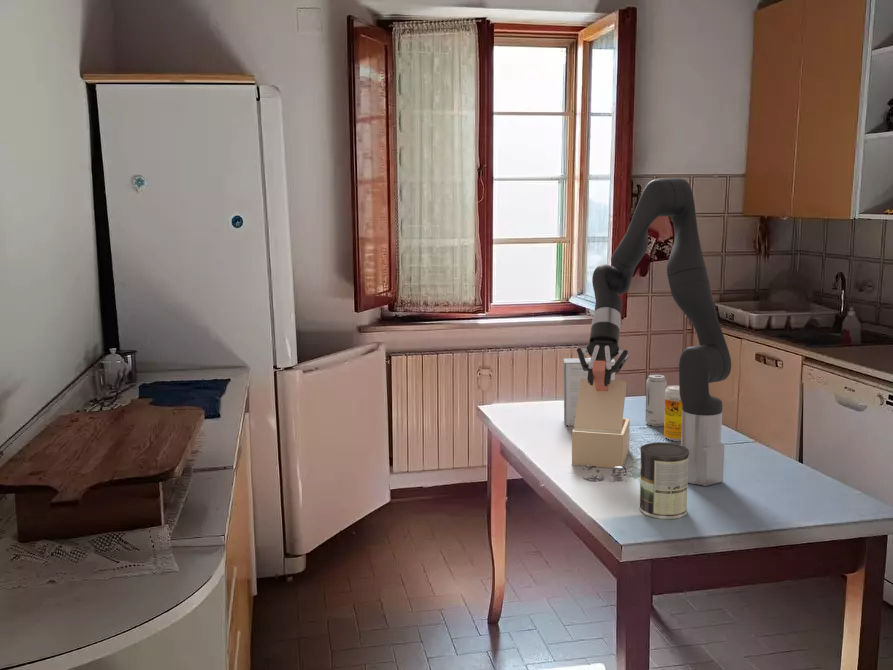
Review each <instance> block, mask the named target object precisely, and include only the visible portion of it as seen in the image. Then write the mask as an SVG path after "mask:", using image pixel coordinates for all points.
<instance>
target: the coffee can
mask: <svg viewBox="0 0 893 670" xmlns="http://www.w3.org/2000/svg"><path fill="white" fill-rule="evenodd" d="M688 456H689V450H688V449H687V448H686V447H684V446H681V444H678V443H672V442H649V443H646V444H643V445H641V446H640V477H639V479H640V481H639V483H640V485H639V488H640V489H639V511H640V512H641V513H642V514H643V515H646V516H648V517H650V518H654V519H660V520H675V519H681V518H683V517H685V516H687V513H688V510H687V509H688V508H687V507H688V487H689V486H688V484H689V483H688Z"/></svg>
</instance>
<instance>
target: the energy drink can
mask: <svg viewBox="0 0 893 670" xmlns="http://www.w3.org/2000/svg"><path fill="white" fill-rule="evenodd" d="M667 386H668V382H667V379H666V377H665V375H663V374H649V375H648V378H647V379H646V382H645V417H644V419H645V421H644V422H646V424H647V425H648V426H650V425H652V426H651V427H664V418H665V390H666V388H667Z"/></svg>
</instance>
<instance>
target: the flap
mask: <svg viewBox="0 0 893 670" xmlns="http://www.w3.org/2000/svg"><path fill="white" fill-rule="evenodd" d="M606 369H607V367H606V361H595V360H594V362H593V370H592V371H593V376H594V382H593V385H590V383H588V380H587V379H580V386H579V393H578V401H577V408H576V415H575V423H574V426H573V429H574V430H575V431H589V432H603V433H617V434H621V432H622V422H623V418H624V411H625V401H626V391H627V380H619V379H616V380H611V382H610V384H608V386H604V378H605V370H606Z"/></svg>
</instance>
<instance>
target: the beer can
mask: <svg viewBox="0 0 893 670" xmlns="http://www.w3.org/2000/svg"><path fill="white" fill-rule="evenodd" d="M663 427H664V428H663V437H665V439H666V438H667V439H666V440H668V439H669V440H668V441H671V440H673V442H681V432H682V402H681V398H680V393H679V385H677V384H676V385H674V384H673V385H672V384H671V385H667V388H666V390H665V418H664V425H663Z"/></svg>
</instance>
